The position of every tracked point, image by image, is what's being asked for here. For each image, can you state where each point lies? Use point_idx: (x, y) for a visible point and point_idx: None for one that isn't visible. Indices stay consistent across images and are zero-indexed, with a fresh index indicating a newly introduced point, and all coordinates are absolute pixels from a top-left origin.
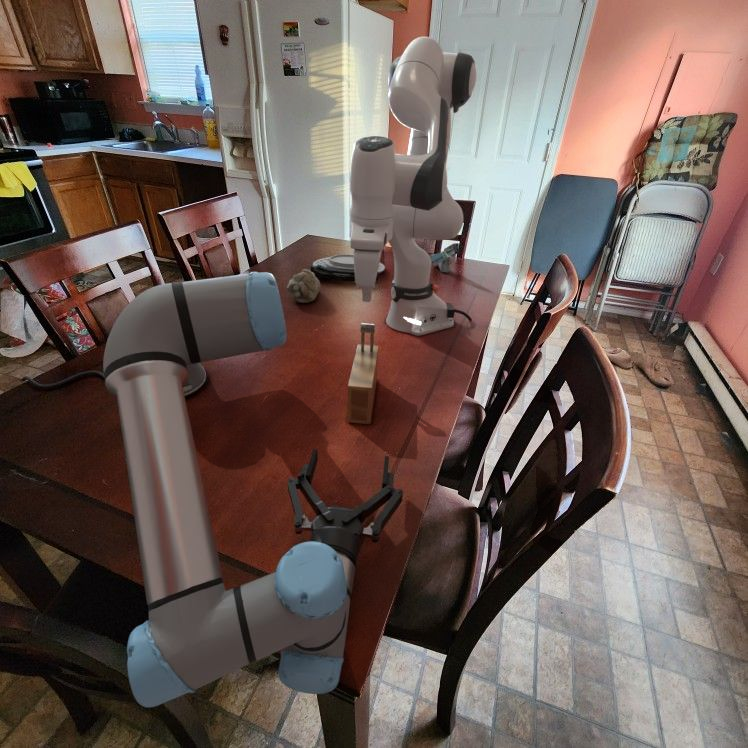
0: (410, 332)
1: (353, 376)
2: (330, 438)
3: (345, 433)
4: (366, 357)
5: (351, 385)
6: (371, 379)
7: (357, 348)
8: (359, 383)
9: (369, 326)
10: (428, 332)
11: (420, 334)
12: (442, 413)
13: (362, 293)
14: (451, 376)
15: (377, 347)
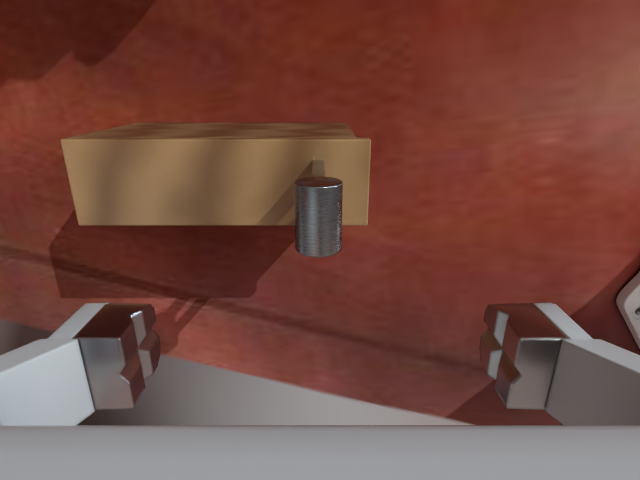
0: (637, 278)
1: (125, 152)
2: (56, 83)
3: (89, 123)
4: (269, 187)
5: (66, 152)
6: (126, 220)
7: (332, 142)
8: (88, 180)
9: (302, 231)
10: (631, 331)
11: (620, 308)
12: (232, 351)
13: (28, 345)
14: (390, 377)
15: (352, 222)
